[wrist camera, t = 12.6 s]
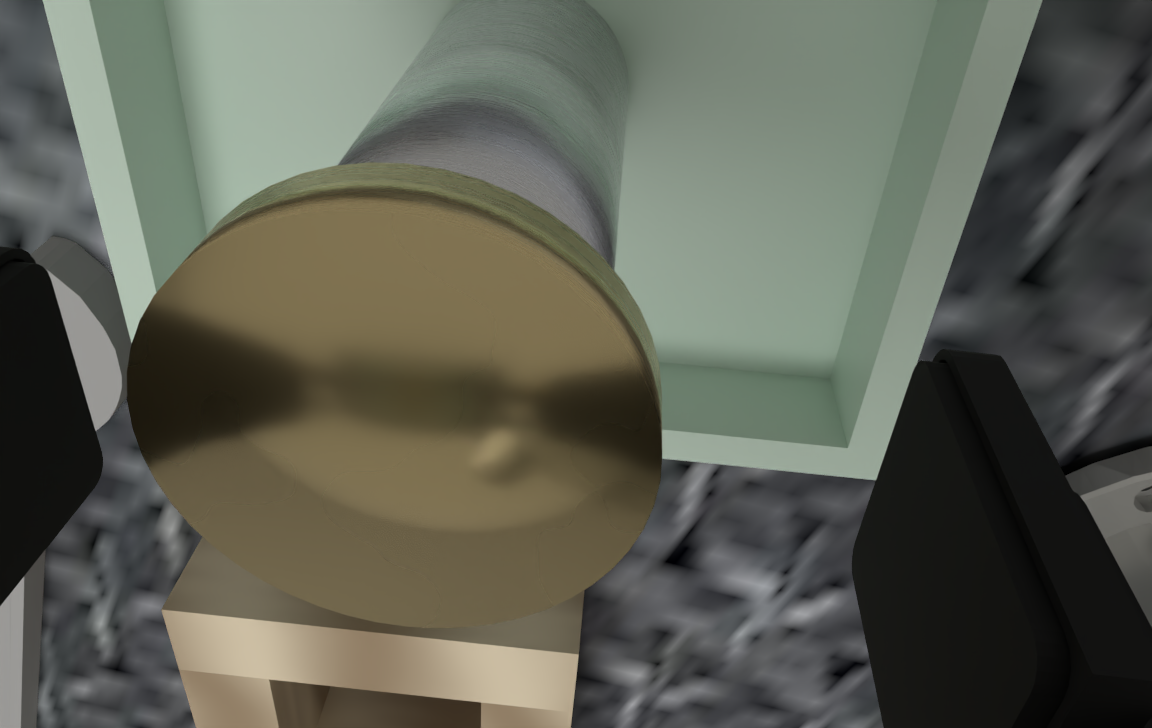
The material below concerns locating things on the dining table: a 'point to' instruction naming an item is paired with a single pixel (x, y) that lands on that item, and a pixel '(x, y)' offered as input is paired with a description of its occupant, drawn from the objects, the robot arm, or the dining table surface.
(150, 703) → the dining table surface
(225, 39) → the tray
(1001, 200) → the dining table surface
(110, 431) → the dining table surface
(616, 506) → the gold-capped cylinder
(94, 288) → the adjustable wrench
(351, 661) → the block
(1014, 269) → the dining table surface
